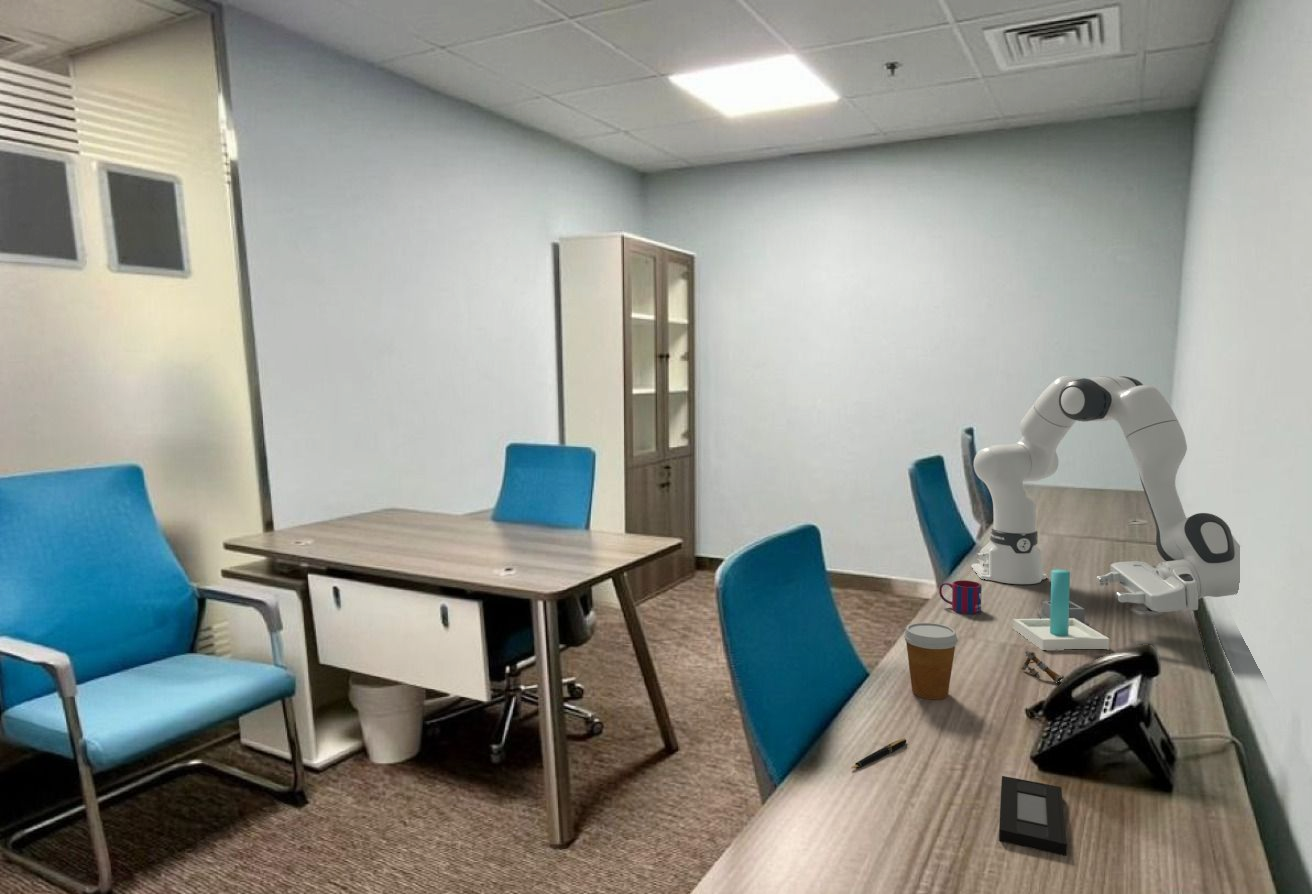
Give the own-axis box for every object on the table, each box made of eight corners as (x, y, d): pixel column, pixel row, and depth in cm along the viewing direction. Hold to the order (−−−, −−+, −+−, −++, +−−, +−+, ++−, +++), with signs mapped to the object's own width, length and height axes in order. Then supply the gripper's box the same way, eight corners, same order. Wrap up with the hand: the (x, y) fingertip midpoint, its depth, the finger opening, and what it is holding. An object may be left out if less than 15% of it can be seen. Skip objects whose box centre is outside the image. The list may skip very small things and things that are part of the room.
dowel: (1046, 631, 170) (1048, 569, 169) (1063, 630, 170) (1064, 569, 169) (1055, 636, 167) (1056, 573, 165) (1071, 636, 166) (1073, 573, 165)
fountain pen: (853, 774, 113) (853, 765, 113) (846, 771, 114) (846, 762, 114) (909, 745, 122) (909, 736, 122) (903, 742, 123) (903, 733, 123)
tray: (1012, 629, 175) (1012, 619, 175) (1073, 628, 175) (1074, 618, 175) (1042, 650, 162) (1042, 639, 161) (1109, 649, 161) (1109, 638, 161)
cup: (975, 616, 186) (975, 588, 185) (935, 608, 192) (935, 582, 192) (985, 609, 191) (985, 583, 190) (945, 602, 197) (946, 576, 197)
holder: (1037, 616, 184) (1037, 600, 184) (1070, 616, 184) (1071, 599, 184) (1054, 627, 176) (1054, 610, 176) (1088, 626, 176) (1089, 609, 176)
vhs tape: (998, 844, 96) (999, 829, 96) (1001, 789, 109) (1001, 775, 109) (1066, 859, 93) (1066, 844, 92) (1060, 800, 105) (1061, 786, 105)
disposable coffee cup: (892, 687, 144) (892, 625, 143) (933, 679, 147) (933, 619, 146) (926, 707, 135) (927, 641, 134) (969, 698, 138) (970, 634, 137)
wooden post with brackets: (1021, 664, 152) (1030, 647, 150) (1055, 692, 146) (1065, 675, 144) (1015, 666, 151) (1024, 648, 149) (1049, 694, 145) (1059, 677, 143)
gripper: (1149, 551, 177) (1086, 559, 179) (1200, 585, 157) (1128, 593, 159) (1151, 576, 178) (1088, 584, 180) (1201, 613, 158) (1130, 621, 160)
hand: (1107, 589), depth 169 cm, fingers open, 8 cm apart
